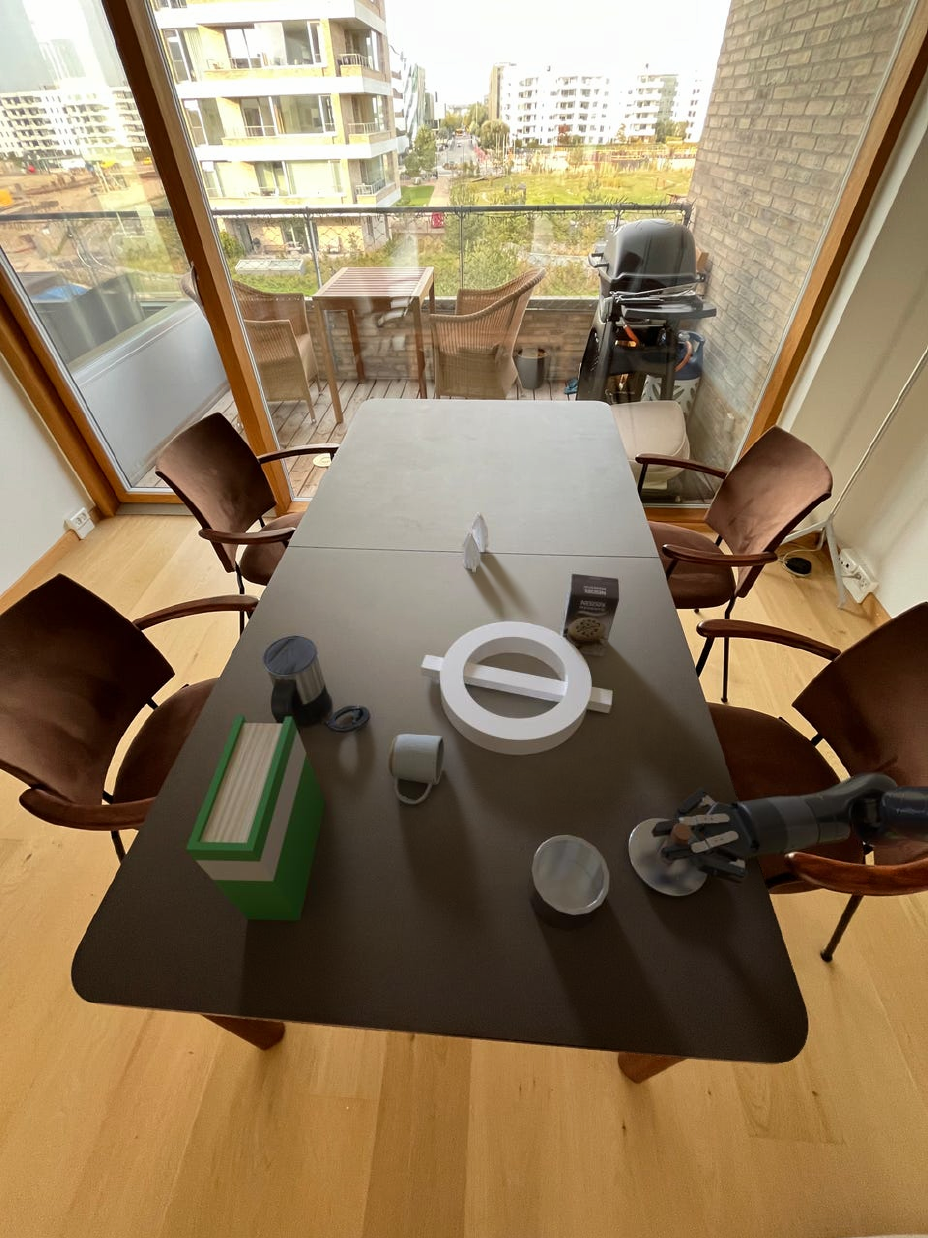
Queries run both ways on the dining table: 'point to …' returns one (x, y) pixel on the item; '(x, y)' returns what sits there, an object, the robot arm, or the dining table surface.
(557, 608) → the dining table surface
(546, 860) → the bowl
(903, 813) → the robot arm
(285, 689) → the milk frother
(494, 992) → the dining table surface
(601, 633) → the coffee box
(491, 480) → the dining table surface
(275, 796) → the hardback book
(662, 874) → the bowl lid
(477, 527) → the shaker set
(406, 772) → the ceramic mug
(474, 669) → the ring with crossbar
